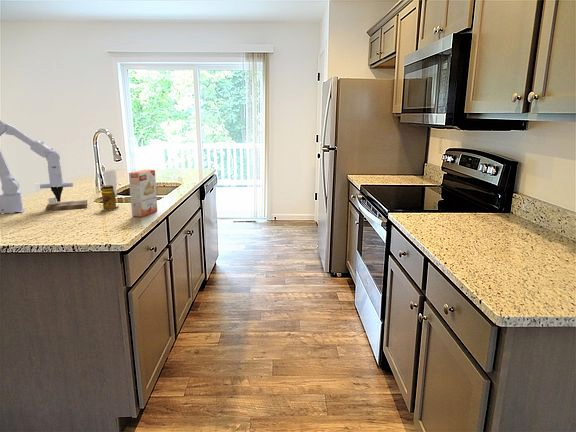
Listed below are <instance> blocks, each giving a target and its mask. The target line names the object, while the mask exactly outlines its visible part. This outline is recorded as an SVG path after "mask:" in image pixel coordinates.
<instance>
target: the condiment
mask: <svg viewBox="0 0 576 432" xmlns="http://www.w3.org/2000/svg"><path fill="white" fill-rule="evenodd" d="M101 198H102V209H101V211H102V212H103V211H116V210H117V211H118V210H119V207H120V206H119V205H118V206H117V203H116V202H117V201H116V195H115V191H114V189H113V186H111V185H107V186H106V185H102V187H101ZM116 206H117V207H116Z"/></svg>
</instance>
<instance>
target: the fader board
mask: <svg viewBox="0 0 576 432" xmlns="http://www.w3.org/2000/svg"><path fill="white" fill-rule="evenodd" d="M87 208H88V200H87V199H85V200H84V199H83V200H71V201H60V202H57V203H56V204H53V205H49V202H48V203H47V205H46V208H45V209H46V212H50V211H49V210H53V211H63V210H66V211H67V210H74V209H76V210H77V209H87Z"/></svg>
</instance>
